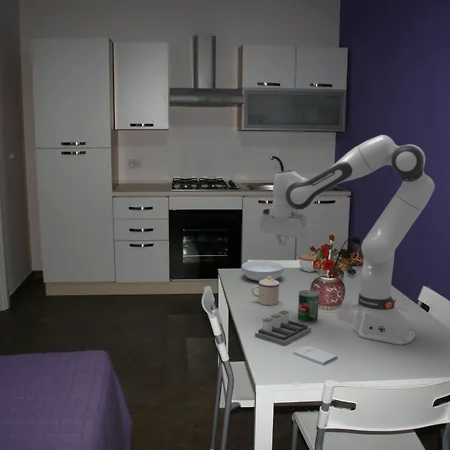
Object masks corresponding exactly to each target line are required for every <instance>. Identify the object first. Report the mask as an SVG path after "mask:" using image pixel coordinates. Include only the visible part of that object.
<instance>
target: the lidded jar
mask: <svg viewBox="0 0 450 450" xmlns="http://www.w3.org/2000/svg"><path fill="white" fill-rule="evenodd" d="M298 257H299V266H300V268H301V269H302V271H303V270H304V271H303V272H305V271H308V272H307V273H312V272H311V271H314V269H313V265H312V262H313V260H314V259H315V258H316V256H315V257H313V256H312V253H311V252H309V253H303V254H300V255H299V256H298ZM314 272H315V271H314Z"/></svg>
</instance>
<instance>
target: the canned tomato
mask: <svg viewBox="0 0 450 450" xmlns="http://www.w3.org/2000/svg"><path fill="white" fill-rule="evenodd" d="M319 295H320V293H319V292H317V291H315V290H310V289H305V290H303V289H302V290H299V291H298V303H297V304H298V307H297V309H298V311H297V320H298V321H300V322H302V323H306V324H313V323H317V322H318V321H319V320H318V317H319V316H318V315H319V299H320V298H319Z"/></svg>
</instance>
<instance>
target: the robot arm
mask: <svg viewBox="0 0 450 450" xmlns="http://www.w3.org/2000/svg"><path fill="white" fill-rule="evenodd" d="M426 161H427V157H426V154H425V152H424V150H423V149H422V148H421V147H419V146H418V145H415V144H410V143H409V144H404V145H403V144H401V145H399V144H398V145H397V144H396V143H395V141H394V140H393V139H392V138H391V137H390V136H388V135H386V134H381V135H378V136H375V137H372V138H370V139H368V140H365V141H364V142H362V143H360V144H359V145H357V146H355V147H353V148H352V149H351V150H349V151H348V152H347V153H345V154H344V155H343V156H342V157H341V158H340V159H338V160H337V161H336V163H334V164H333V165H332V166H331V167H329V168H328V169H326V170H325V171H323V172H321V173H319V174H318V175H316V176H314V177H312V178H310V179H308V178H306V177H303V176H301V175H299V174H298V173H297V172H296V171H295V170H294V169H293V170H292V169H291V170H281V171H279V172H277V173H276V174H275V175H274V177H273V178H274V180H273V183H272V184H273V185H272V194H273V195H272V196H273V201H272V204H271V205H272V206H269V207H265V208H262V209H260V211H261V212H260V213H261V214H262V215H260V218H259V231H260V232H262V233H268V234H273V235H275V239H276V241H277V246H280V247H286V246H287V242H288V240H289V239H290V237H291V238H297V239H303V238H305V237H306V236H307V218H306V216H305V215H304V214H303V213H296V212H295V211H296V210H304V209H306V208H308V207H309V206H310V205H312V204H314V203H315V202H316V201H318V200H319V197H320V196H321V194H322V193H324V192H326V191H328V190H329V189H331V188H333V187H335V186H337V185H338V184H341V183H345V182H348V181H352V180H353V181H354V180H355V179H359V178H362V177H364V176H367V175H370V174H371V173H373V172H375V171H376V170H378V169H380V168H382V167H385V166H391V167H392V169H393V171H394V172H395V173H396V174H397V175H398V177H399V178H400V179H401V180H402V183H401V185H400V186H399V188H398V190H397V191H396V193H395V194H394V195H393V197H392V198H391V199H390V201H389V203H388V204H387V206H386V207H385V209H383V212H382V213H381V215H380V216H379V217H378V218H377V220H376V222H375V223H374V225H373V226H372V227H371V229H370V230H369V232H368V233H367V234H366V236H365V238H364V239H363V240H362V243H361V254H362V256H363V263H362V270H361V275H360V290H359V293H358V298H357V299H358V300H357V307H358V308H357V311H358V312H357V316H356V318H355V319H356V320H355V322H354V326H353V327H352V328H353V330H354V332H356V333H357V335H358V336H359V337H360V338H364V339H369V340H373V341H378V342H384V343H387V344H388V343H389V344H392V345H398V346H399V345H400V346H402V345H403V346H404V345H407V344H409V343H411V342H412V341H414V340H415V338H416V334H415V332H414V331H412V330H410V324H409V320H408V318H407V317H406V316H405V315H404V314H402V313H401V312H400V311H399V309H397V308H396V307H395V303H397V298H395V299H394V298H392V296H391V292H392V290H391V289H392V281H393V280H392V279H393V269H394V261H395V253H396V252H395V251H396V249H397V248H398V246H399V245H400V243H401V242H402V240H403V239H404V238H405V236H406V235H407V234H408V232H409V230H410V228H411V227H412V225H413V224H414V223H415V221H416V220H417V219H418V217H419V216H420V214H421V213H422V211H423V210H424V209H425V207H427V204H428V202H429V200H430V198H431V197H432V195H433V192H434V191H435V189H436V188H435V187H436V184H435V182H434V180H433V179H432V178H431V177H430V176H429V175H427V174H426V173H425V171H424V169H425V165H426ZM282 236H283V237H282ZM281 237H282V238H283V240H282V238H281Z"/></svg>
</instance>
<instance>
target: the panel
mask: <svg viewBox="0 0 450 450" xmlns="http://www.w3.org/2000/svg"><path fill="white" fill-rule="evenodd" d="M311 332H312V328H311V327H309V326H308V325H307V324H302V323H299V322H296V321H291V320H289V322H288V324H283V323H281V327H280V328H275V327H272V332H266V331H263V330H262V328H260V329H258V331H256V332H254V337H255V338H258V339H261V340H264V341H268V342H271V343H274V344H277V345H281V346H284V347H285V346H288V345H289V344H291V343H293V342H295V341H298V339H300V338H303V337H304V336H306V335H308V334H309V333H311Z"/></svg>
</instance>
